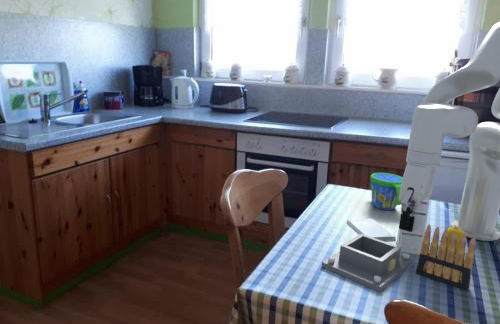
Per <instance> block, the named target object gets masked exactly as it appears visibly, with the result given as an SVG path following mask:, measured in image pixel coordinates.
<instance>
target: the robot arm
mask: <svg viewBox="0 0 500 324" xmlns="http://www.w3.org/2000/svg"><path fill="white" fill-rule="evenodd" d="M499 82H500V21H499V22H497V23H495V24H494V25H493V26H492V27H491V28H490V29H489V30H488V32H487V33H486V35H485V36H484V38H483V39H482V41H481V42H480V44H479V45H478V46H477V49H476V50H475V51H474V53H473V54H472V56H471V57H470V59H469V60H468V62H467V63H466V64H465V65H464V66H463V67H461V68H459V69H457V70H456V71H454V72H452V73H450V74H449V75H448V76H446V77H444V78H442V79H441V80H440V81H438V82H437V83H436V84H435V85H434V86H432V87H431V89H430V90H429V91H428V92H427V94H426V95H425V97H424V99H422V102H421V103H420V105H417V106H416V107H415V108H414V110H413V113H412V121H411V128H410V131H409V133H410V135H409V138H408V139H409V140H408V147H407V151H406V159H405V161H406V166H405V169H404V173H403V176H402V177H403V180H402V184H401V189H400V194H399V201H400V202H401V205H400V206H401V208H400V209H401V210H400V215H401V216H400V215H399V222H400V223H398V229H399V228H400V229H402V230H405V231H408V232H412V231H413V225H414V219H415V216H413V215H414V213H415V210H416V207H417V206H419V205H421V204H422V201H423V199H424V198H427V197H428V198H429V200H430V199H431V198H432V196H433V195H432V194H433V190H434V184H435V177H436V172H437V171H436V169H437V168H438V167H440V164H441V157H442V153H443V147H444V141H445V137H448V138H458V139H461V138H463V139H464V138H466V137H469V141H468V142H469V143H468V144H469V147H468V149H469V154H468V155H469V156H468V165H467V171H466V176H465V181H464V186H463V191H462V197H461V202H460V207H459V211H458V212H459V213H458V216H457V220H456V219H455V220H453V221H451V222H450V227H454V226H457V227H458V228H459V229H461V230H462V231H463V232H464V234H465V235H466V238H469V239H472V238H473V236H475V239H476V240H477V241H483V242H484V241H485V242H495V241H497V240H499V239H500V231H499V230H498V229H497V228H496V225H497V220H498V218H499V217H498V216H499V212H500V122H496V121H484V122H480V123H479V117H478V115H477V113H476V112H475V111H474V110H473V109H472V108H470V107H467V106H463V105H456V104H451V103H450V102H451V101H453V100H455V99H456V98H458V97H461V96H464V95H466V94H470V93H473V92H477V91H480V90H485V89H487V88H491V87H493V86H495V85H496V84H498V83H499ZM491 113H492V115H493V116H494V117H495V118H496V119H499V120H500V87H499V88H498V91H497V92H496V94H495V96H494V100H493V101H492V105H491ZM410 200H412V201H414V202H415V203H410ZM409 206H412V210H411V209H410V207H409Z"/></svg>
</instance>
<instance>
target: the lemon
mask: <svg viewBox="0 0 500 324" xmlns="http://www.w3.org/2000/svg"><path fill="white" fill-rule="evenodd" d="M446 229H447V230H448V241H447V250H448V247H449V244H450V241H451V237H452V235H453V233H454V232H455V231H456V233H457V242H456V253H457V250H458V247H459V244H460V240H461V238H462V236H463V234H464V232H463V231H462V230H461V229H459V228H458V227H457V226H454V227H451V226H449V227H447V228H446ZM443 233H444V231H443V232H442V234H441V237H440V241H441V240H442V236H443ZM456 253H455V256H456ZM446 254H447V252H446Z"/></svg>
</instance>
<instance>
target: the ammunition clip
mask: <svg viewBox="0 0 500 324" xmlns="http://www.w3.org/2000/svg"><path fill="white" fill-rule="evenodd" d="M443 232H444V233H443ZM443 232H442V234H443V236H442V235H441V237H442V240H441V239H440V227H439V226H437V227H435V230H434V232H433V236H432V235H431V233H432V228H431V224H430V223H429V224H428V225H426V228H425V235H424V239H423V242H422V246H421V252H420V255H418V256H419V257H418V261H417V265H416V269H415V275H418V276H421V277H423V278H426V279H429V280H432V281H435V282H438V283H441V284H444V285H446V286H450V287H452V288H455V289H458V288H459V290H461V289H462V291H464V290H465V291H464V292H468V291H469V289H470V284H471V277H472V271H473V265H474V261H475V251H476V243H477V242H476V239H475V236H473V238H470V241H469V244H468V248H467V252H466V246H467V237H466V235H465V234H463V236H462V238H461V240H460V244H459V247H458V250H457V253H456V242H457V233H456V231H455V232H454V233H453V235H452V237H451V241H450V244H449V247H448V250H447V241H448V230H447V228H446V229H444V231H443ZM431 236H432V241H431ZM439 240H440V241H439ZM439 242H440V243H439ZM446 252H447V253H446ZM455 253H456V255H455Z"/></svg>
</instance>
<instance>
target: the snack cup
mask: <svg viewBox="0 0 500 324" xmlns="http://www.w3.org/2000/svg"><path fill="white" fill-rule="evenodd" d="M402 180H403V176H400V175H397V174H395V173H388V172H374V173H372V174H371V175H370V184H369V189H370V190H371V205H372V206H373V207H375V208H377V209H378V210H384V211H392V210H394V209H396V207H397V206H401V202H400V201H399V194H400V189H401V184H402Z"/></svg>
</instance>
